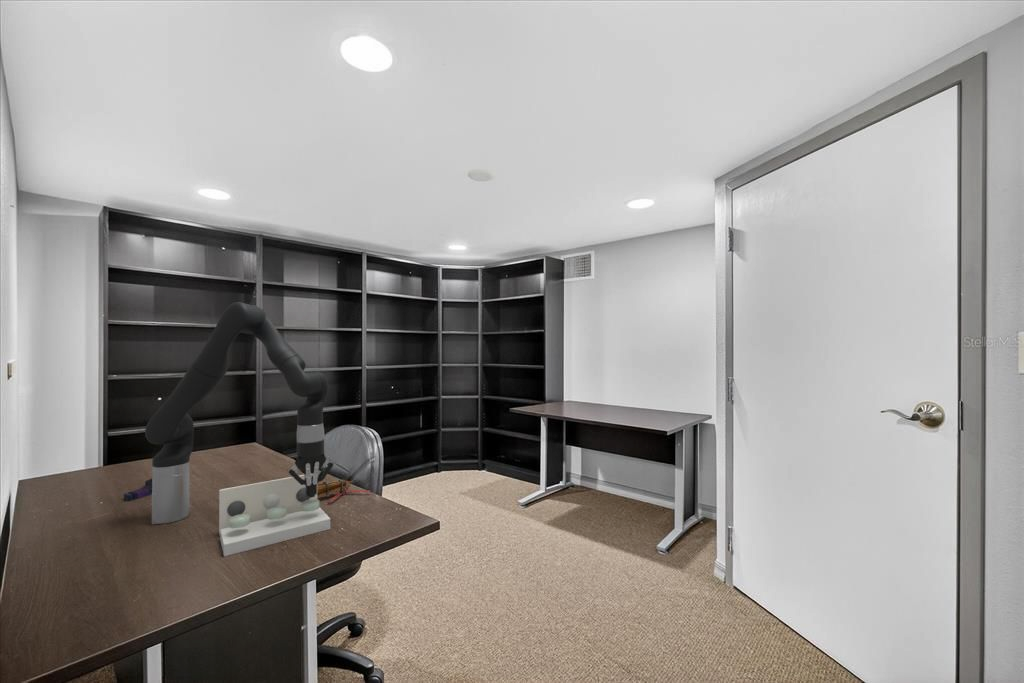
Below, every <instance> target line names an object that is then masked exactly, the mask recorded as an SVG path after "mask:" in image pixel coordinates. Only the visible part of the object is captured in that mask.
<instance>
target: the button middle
mask: <svg viewBox="0 0 1024 683" xmlns="http://www.w3.org/2000/svg"><path fill="white" fill-rule="evenodd" d="M285 516H286V507H285V506H277V507H273V508H270V509H268V510H267V519H270V520H274V519H280V518H283V517H285Z"/></svg>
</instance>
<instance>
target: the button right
mask: <svg viewBox="0 0 1024 683" xmlns="http://www.w3.org/2000/svg"><path fill="white" fill-rule="evenodd" d="M319 507H320V499H319V498H317V499H310V500H306V501H304V502H302V511H304V512H310V511H314V510H317V509H319Z"/></svg>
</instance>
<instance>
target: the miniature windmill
mask: <svg viewBox="0 0 1024 683" xmlns="http://www.w3.org/2000/svg"><path fill="white" fill-rule="evenodd" d="M353 483H354V480H345V479H338V481H329V482H327V480H323V481H322V482H321V483H320V482H319V483H317V499H319V498H320V497H324V496H326V497H330V495H331V493H337V494H336V495H335V496H333V497H332V498H331V499H330V500H328V501H327V502H326V503H330V504H331V503H332V502H334V501H336V500H337V499H338V498H339V497H340V496H344V495H346V493H370V492H371V491H372V490H371V489H369V490H368V489H365V490H364V489H362V490H359V489H358V490H357V489H355V490H354V489H353V490H349V489H347V488H348V487H349V486H350V485H352V484H353Z"/></svg>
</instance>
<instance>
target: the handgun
mask: <svg viewBox="0 0 1024 683" xmlns="http://www.w3.org/2000/svg"><path fill="white" fill-rule="evenodd" d="M144 483H145V484H144V485H145V486H142V487H140V488H138V489H136V490H132V491H128V492H125V493H123V500H125V501H126V502H132V501H134V500H138V499H141V498H145V497H147V496H150V495H151V496H152V478H149V479H147V480H145V482H144Z"/></svg>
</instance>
